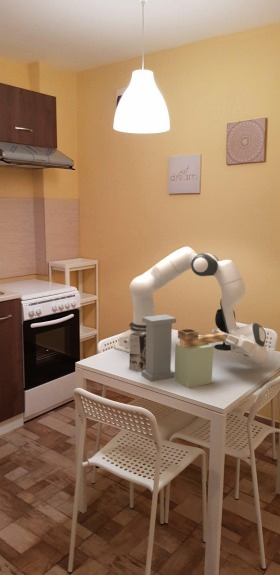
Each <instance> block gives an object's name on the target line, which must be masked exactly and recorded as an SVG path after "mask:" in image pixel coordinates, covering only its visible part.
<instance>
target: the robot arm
mask: <svg viewBox="0 0 280 575" xmlns="http://www.w3.org/2000/svg"><path fill="white" fill-rule="evenodd" d="M188 270H192V272H193V273H194V274H195V275H197V276H199V277H210V276H213V277H215V278H216V280H217V282H218V285H219V287H220V290H221V298H220V300H219V301H220V302H219V304H220V309H221V311H222V315H223V320H224V324H225V328H226V333H225V332H222V331H220V330H219V329H214V328H213V329H212V331H211V334H215V333H221V332H222V333H224V334H226V341H222V343H223V342H224V343H225V344H227V345H229V346H230V347H231V350H230V351H231V352H232V353H234V354H235V355H237V356H238V357H240V358H244V359H245V360H246V361H248V362H249V363H252V364H255V365H262V364H264V363H265V362H267V360H268V358H269V351H268V350H267V348H266V344H265V343H266V339H267V335H266V334H267V332H266V330H265V329H264V328H263V326H262V325H260V324H259V323H257V322H253V323H251V324H247V325H244V326H241V327H238V325H237V322H236V316H235V317H234V313H233V310H234V309H235V306H237V303H239V302H240V301H241V300H242V298H243V297H244V296H245V294H246V290H247V288H246V283H245V282H244V279H243V276H242V274H241V272H240V270H239V268H238V267H237V265H236V263H235V262H234V261H233V260H231V259H224V260H220V261H219V258H218V257H217V256H216V255H215V254H212V253H210V252H209V253H208V252H204V253H198V254H197V253H196V251H195V250H194V249H193V248H191V247H190V246H184V247H181V248H179V249H177V250H175V251H174V252H172V253H170V254H168V255H167V256H166V257H165V258H163V259H161V260H160V261H159V262H157V263H156V264H154V265H153V266H152V267H150V269H148V270H147V271H145V272H144V273H141V274H140V275H138V276H136V277H134V278H133V279H132V280H131V281H130V284H129V286H128V288H129V289H128V291H129V293H130V296H131V301H132V307H133V308H132V309H133V311H132V314H133V315H132V317H133V318H132V319H133V321H132V322H130V323H128V327H129V329H128V330H126V331H124V333H122V334H121V335H120V336H119V339H118V342H117V343H115V344H114V349H116V350H119V351H122V352H127V353H129V354H130V334H132V333H135V332H137V331H139V330H140V331H146V323H144V322H142V317H147V316H156V307H155V303H154V297H153V295H154V293H155V292H156V291H158V290H159V289H161V288H162V287H164V286H165V285H167V284H169V283H171V282H172V281H173V280H175V279H176V278H178V277H179V276H182V274H183V273H185V272H187V271H188ZM234 311H235V310H234Z"/></svg>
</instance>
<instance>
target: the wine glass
mask: <svg viewBox="0 0 280 575" xmlns="http://www.w3.org/2000/svg"><path fill="white" fill-rule="evenodd" d="M233 313H234V317H235V318H236V312H235V310H233ZM214 317H215V318H214V321H215V322H214V323H215V326H216V328H217V330H219V331H222V332H225V333H226V328H225V324H224V320H223V315H222V311H221V308H219V309H217V310H216V313H215V316H214ZM213 349H216V350H217V351H232V350H231V347H230V346H229V344H226V343H224V342H222V343H218V344H217V343H216V344H214V346H213Z"/></svg>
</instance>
